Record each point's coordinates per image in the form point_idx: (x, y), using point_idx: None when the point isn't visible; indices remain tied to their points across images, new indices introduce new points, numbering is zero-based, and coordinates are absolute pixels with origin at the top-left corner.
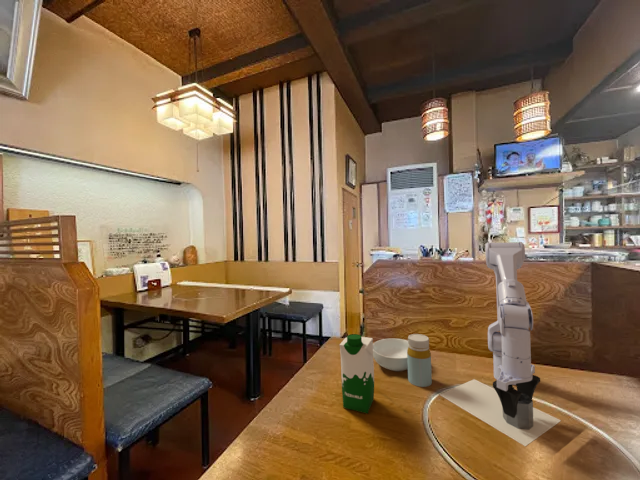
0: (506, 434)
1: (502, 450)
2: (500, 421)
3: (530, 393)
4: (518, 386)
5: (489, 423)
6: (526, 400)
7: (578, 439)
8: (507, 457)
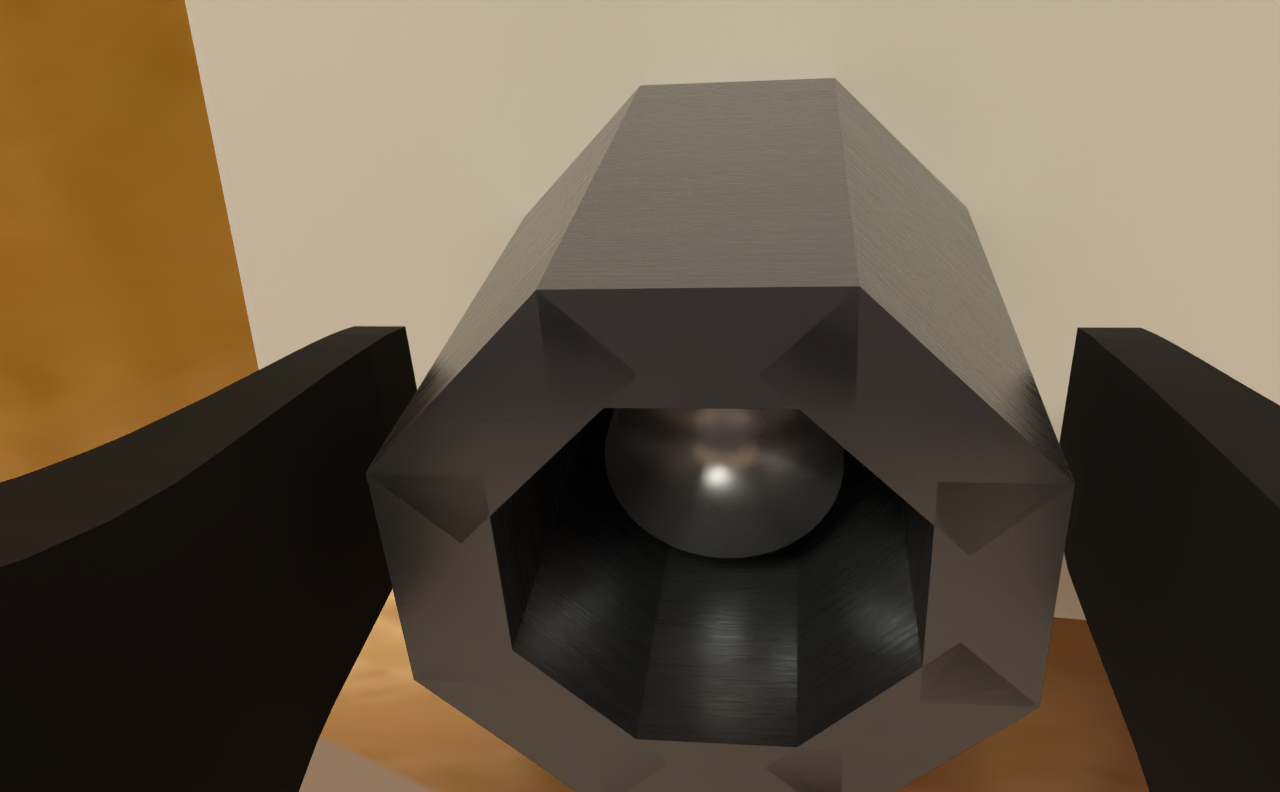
0: (259, 341)
1: (80, 360)
2: (456, 141)
3: (1154, 748)
4: (1243, 544)
5: (225, 59)
6: (732, 752)
7: (1106, 747)
8: (49, 435)
